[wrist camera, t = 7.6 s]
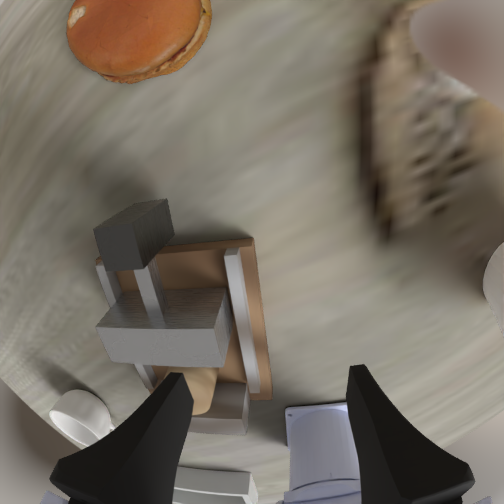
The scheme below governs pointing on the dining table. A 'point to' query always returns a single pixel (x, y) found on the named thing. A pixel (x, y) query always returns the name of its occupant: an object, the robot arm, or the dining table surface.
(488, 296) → the white plant pot
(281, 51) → the dining table surface
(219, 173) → the dining table surface
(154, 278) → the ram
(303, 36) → the dining table surface
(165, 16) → the burger
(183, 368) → the nut
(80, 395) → the teacup
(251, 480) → the box
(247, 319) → the bench
